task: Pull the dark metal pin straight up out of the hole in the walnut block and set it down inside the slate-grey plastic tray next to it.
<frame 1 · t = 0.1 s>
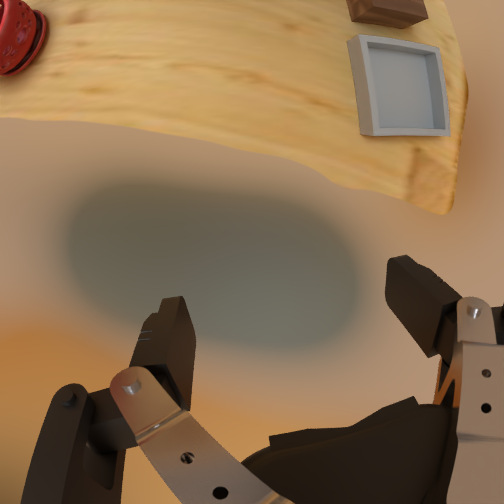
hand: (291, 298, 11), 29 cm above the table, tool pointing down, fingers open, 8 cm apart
pin block: (372, 0, 27), on the table
tray: (396, 88, 33), on the table
plant pot: (22, 44, 25), on the table
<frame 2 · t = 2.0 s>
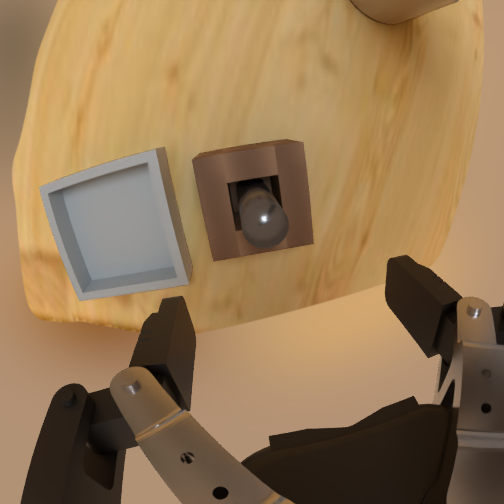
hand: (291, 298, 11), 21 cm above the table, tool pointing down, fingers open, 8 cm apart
pin block: (250, 187, 30), on the table
pin: (250, 188, 29), point 1 cm above the table, touching pin block
tray: (120, 222, 31), on the table
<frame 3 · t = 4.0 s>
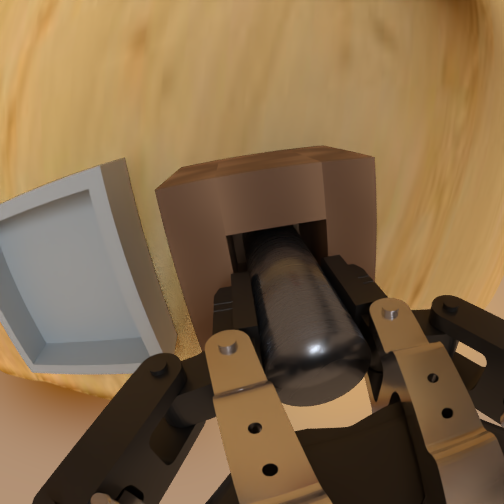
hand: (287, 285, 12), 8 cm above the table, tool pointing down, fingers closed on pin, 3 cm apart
pin block: (263, 222, 19), on the table
pin: (265, 227, 18), point 1 cm above the table, touching gripper, pin block
tray: (71, 271, 19), on the table
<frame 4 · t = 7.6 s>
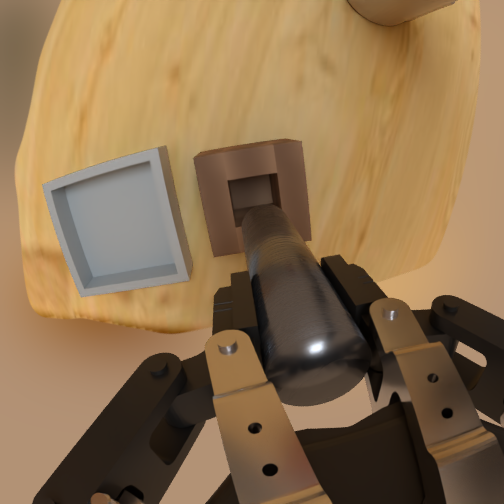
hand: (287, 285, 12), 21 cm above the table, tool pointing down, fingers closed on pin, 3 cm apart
pin block: (249, 185, 31), on the table
pin: (265, 227, 18), point 14 cm above the table, touching gripper
tray: (122, 219, 31), on the table
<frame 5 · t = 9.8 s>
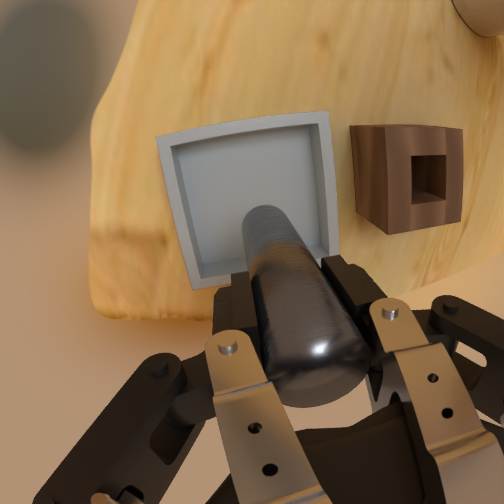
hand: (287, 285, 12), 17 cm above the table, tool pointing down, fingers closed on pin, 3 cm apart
pin block: (390, 166, 27), on the table
pin: (265, 228, 18), point 10 cm above the table, touching gripper
tray: (252, 193, 28), on the table
when the fingers open (10 cm above the table, at t = 11.4 s): pin drops 1 cm, resting on tray.
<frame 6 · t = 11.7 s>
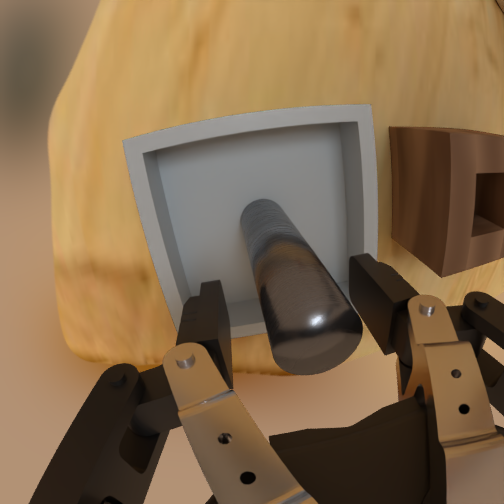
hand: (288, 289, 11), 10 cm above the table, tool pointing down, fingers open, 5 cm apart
pin block: (434, 180, 20), on the table
pin: (262, 220, 20), point 1 cm above the table, touching tray
tray: (260, 216, 20), on the table
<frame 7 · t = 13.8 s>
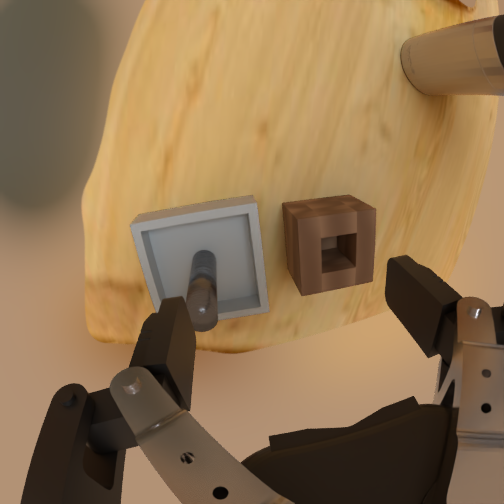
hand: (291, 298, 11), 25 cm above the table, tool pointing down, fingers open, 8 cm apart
pin block: (318, 232, 37), on the table
pin: (204, 261, 36), point 1 cm above the table, touching tray
tray: (204, 257, 37), on the table
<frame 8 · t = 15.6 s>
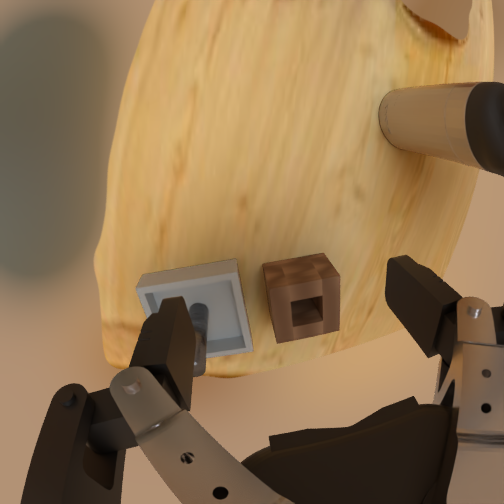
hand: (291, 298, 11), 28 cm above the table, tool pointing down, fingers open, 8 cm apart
pin block: (296, 285, 43), on the table
pin: (198, 311, 43), point 1 cm above the table, touching tray
tray: (199, 307, 44), on the table
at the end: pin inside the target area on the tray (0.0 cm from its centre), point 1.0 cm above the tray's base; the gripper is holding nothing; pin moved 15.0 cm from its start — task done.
